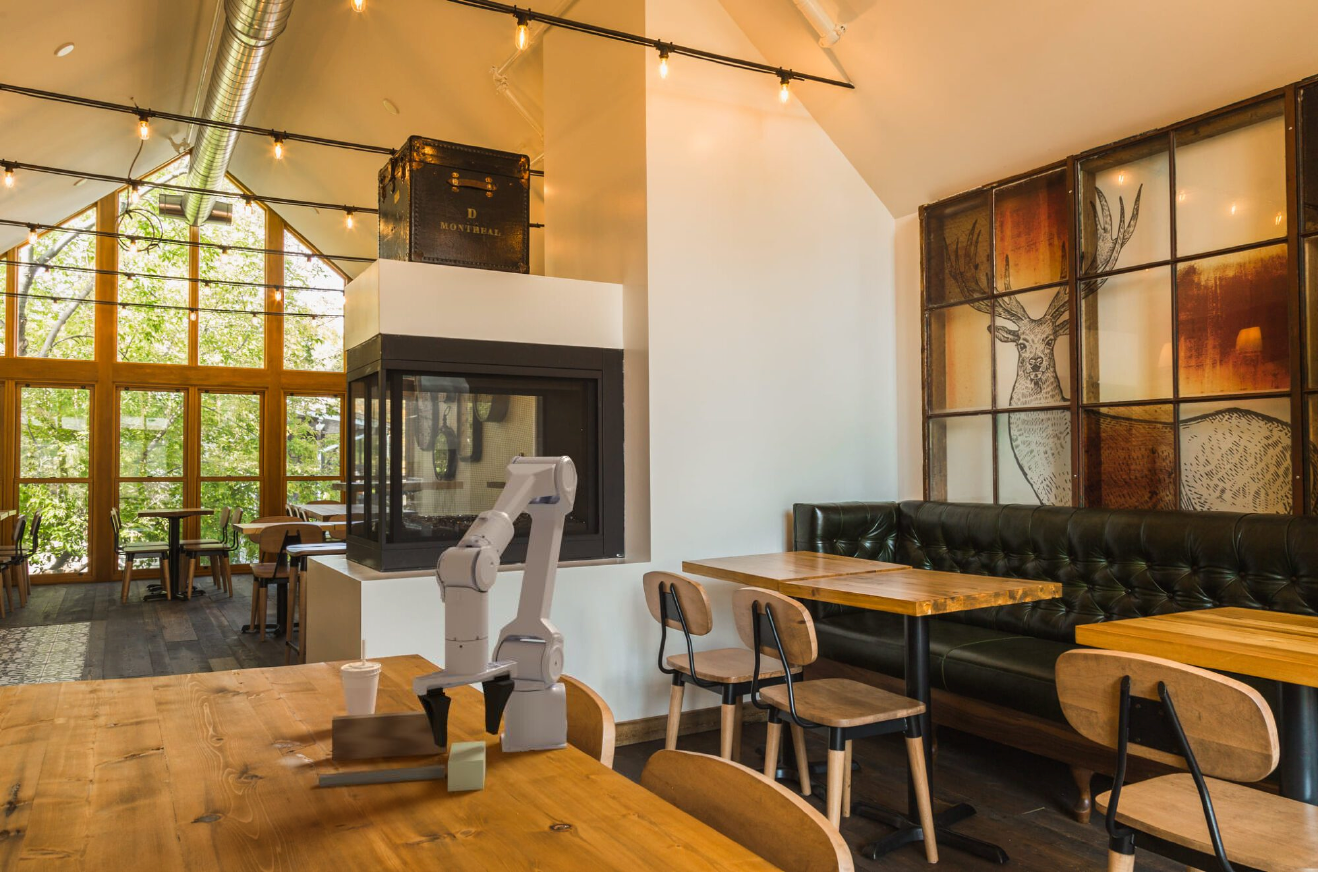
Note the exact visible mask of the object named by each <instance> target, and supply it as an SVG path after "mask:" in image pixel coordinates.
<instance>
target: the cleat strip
mask: <svg viewBox="0 0 1318 872" xmlns="http://www.w3.org/2000/svg"><path fill="white" fill-rule="evenodd" d="M445 771H446V764H437V765H422V766H413V767H412V766H411V767H398V768H397V767H396V768H385V769H374V770H373V769H372V770H370V769H369V770H360V771H346V772H337V773H336V772H333V773H323V774H319V777H318V788H323V787H324V788H325V787H326V788H327V787H337V786H338V787H341V786H354V785H356V786H357V785H369V784H385V783H397V782H409V781H411V782H412V781H423V780H424V781H425V780H426V781H427V780H439V779H445V778H446V772H445Z"/></svg>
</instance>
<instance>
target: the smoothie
mask: <svg viewBox="0 0 1318 872" xmlns="http://www.w3.org/2000/svg"><path fill="white" fill-rule="evenodd" d="M366 644H367V642H366V638H362V639H361V661H357V662H350V663H347V664H346V663H345V664H344V665H342V666H340V669H339V671H340V672H339V675H340V676H341V677H342V678H341V679H342V687H343V694H344V701H345V708H346V709H345V710H346V716H349V715H364V714H375V710H376V709H375V708H376V701H377V692H378V685H379V675H380V673H381V672H382V664H381V663H380V662H377V661H367V660H366V659H367V658H366V657H367V656H366V655H367V653H366V647H367V646H366Z"/></svg>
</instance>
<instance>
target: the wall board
mask: <svg viewBox="0 0 1318 872" xmlns="http://www.w3.org/2000/svg"><path fill="white" fill-rule="evenodd" d="M447 753H448V746H447V747H443V748H441V747H439V746H437V745H435V743H434V737H433V733H432V729H431V725H430V722H429V719H428V717H427V714H426V712H425V710H413V711H412V710H411V711H410V710H409V711H399V712H398V711H397V712H383V713H374V714H364V715H349V716H347V715H337V716H333V717H332V719H331V761H342V760H344V761H345V760H357V759H358V760H360V759H369V758H370V759H372V758H387V757H388V758H389V757H403V756H405V757H406V756H419V755H431V754H432V755H434V754H436V755H437V754H447Z"/></svg>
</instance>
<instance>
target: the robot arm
mask: <svg viewBox="0 0 1318 872" xmlns="http://www.w3.org/2000/svg"><path fill="white" fill-rule="evenodd" d="M577 485H578V474H577V470H576V466H575V463H574V462H573V459H572V458H570V456H568V455H562V456H521V455H516V456H513V457H512V458H511V459H510V461H509V463H508V464H507V466H506V467H505V486H504V487H503V489H502V491H501V493H500V494H499V495H498V498H497V500H496V501H495V503H494V505H493V507H492V509H490V510H485V511H481V512H480V513H478V515H477V517H476V518H475V520H474V521H473V523H472V524H471V526H470V527H469V528H468V529H467V531H466V532H465V534H464V535H463V536H462V538H461V539H460V541H459V542H458V544H457V545H456V546H452V547H448V548H447V549H446V550H445V551H443V552H442V553H441V554H440V556H439V558H438V560H437V565H436V569H435V573H434V575H435V580H436V583H437V585H438V587H439V589H440V599H441V602H442V603H443V604H444V669H440V670H437V671H434V672H431V673H428V674H423V675H420V676H416V677H413V678H412V693H413V694H415V695H416V696H417V699H418V700H419V702H420V704H421V706H422V707H423V709H424V710H423V711H425V712H426V714H427V717H428V719H429V722H430V725H431V729H432V733H433V737H434V743H435V745H437V746H439V747H441V748H443V747H447V748H448V718H449V713H450V712H449V711H450V705H451V703H452V702H451V701H452V697H450V696H448V695H446V691H444V690H447V689H453V688H458V687H462V686H463V687H464V686H467V685H468V686H469V685H473V684H474V685H475V684H479V683H481V686H482V692H483V698H484V713H485V714H484V726H485V732H486V733H488V734H490V735H493V736H496V735H498V734H499V731H500V730H499V729H500V724H501V721H502V719H504V720H503V722H504V723H503V725H504V726H503V727H504V729H503V731H504V732H502V733H501V734H500V740H501V749H502V750H501V751H502V753H504V752H505V754H507V753H517V752H518V753H521V752H530V751H529V750H535V751H546V750H557V749H558V750H559V749H566V748H567V747H568V745H567V744H568V743H567V732H568V721H567V691H566V686H565V683H564V682H558V681H559V679H560V678H561V676H562V673H563V670H564V663H565V656H564V639H565V638H564V636H563V634H562V633H561V632H560V631H559V629H557V628H556V627H555V626H554V624H553V623H552V622H551V621H550V619H551V618H550V617H551V611H552V605H553V599H554V598H553V597H554V591H555V584H556V578H557V577H556V576H557V573H558V572H557V569H558V565H559V564H558V563H559V557H560V552H561V551H560V550H561V543H562V538H563V533H564V523H565V517H566V515H568V514H569V513H571V512H572V511H573V508H574V502H575V497H576V492H577V491H576V490H577ZM522 512H525V513H526V514H528V515H530V518H531V521H532V522H531V528H530V533H529V540H528V546H527V553H526V558H525V563H524V569H523V576H522V582H521V588H520V594H519V600H518V607H517V613H516V617H515V618H514V619H512V620H511V621H510V622H508V623H507V624H506V625H504V626H503V627H502V628H501V629H500V630H499V635H498V640H497V642H496V645H495V647H494V649H493V651H492V655H491V662H489V590H490V589H491V588H492V587H493V586H494V584H495V583H496V580H497V575H498V569H499V566H500V562H501V559H500V557H501V556H502V554H503V553H504V551H505V550H506V548H507V546H508V544H509V543H510V542H511V541H512V539H513V538H514V534H515V528H514V525H513V523H514V522H515V521H516V520H517V518H518V517H519V516H520V515H521V513H522ZM534 640H535V641H534ZM503 716H504V717H503ZM520 751H521V752H520ZM506 752H507V753H506Z"/></svg>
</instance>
